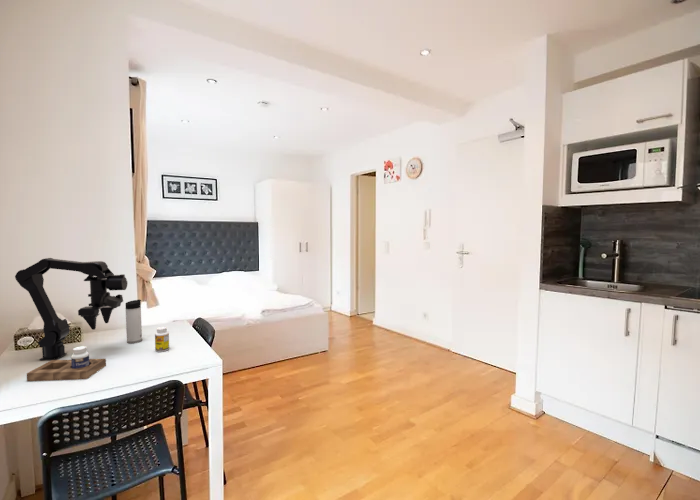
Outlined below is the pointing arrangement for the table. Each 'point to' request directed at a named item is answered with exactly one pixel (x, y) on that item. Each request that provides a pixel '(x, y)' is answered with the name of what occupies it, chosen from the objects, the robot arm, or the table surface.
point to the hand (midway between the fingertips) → (100, 326)
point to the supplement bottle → (161, 339)
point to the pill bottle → (80, 357)
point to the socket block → (64, 370)
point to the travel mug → (133, 321)
